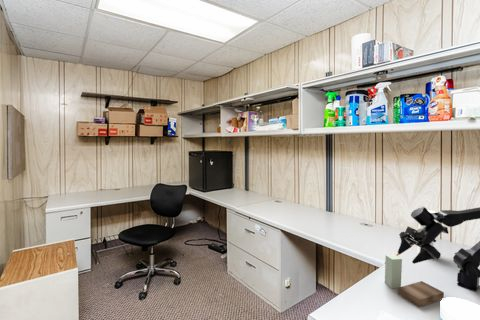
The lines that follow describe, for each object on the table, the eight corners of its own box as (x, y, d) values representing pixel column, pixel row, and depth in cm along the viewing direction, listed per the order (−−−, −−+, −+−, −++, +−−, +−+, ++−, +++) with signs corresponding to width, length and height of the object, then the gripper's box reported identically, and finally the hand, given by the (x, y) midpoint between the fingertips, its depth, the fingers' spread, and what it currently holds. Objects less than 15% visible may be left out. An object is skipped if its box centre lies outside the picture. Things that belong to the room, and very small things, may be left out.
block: (394, 281, 120) (395, 254, 119) (400, 287, 115) (402, 259, 114) (384, 282, 119) (385, 255, 118) (391, 288, 115) (392, 259, 114)
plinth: (421, 287, 115) (421, 281, 115) (443, 299, 106) (443, 292, 106) (398, 294, 110) (398, 287, 110) (419, 307, 102) (419, 299, 101)
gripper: (403, 215, 125) (380, 238, 125) (435, 228, 107) (409, 255, 107) (418, 230, 126) (395, 253, 126) (452, 246, 108) (426, 273, 108)
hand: (405, 257), depth 117 cm, fingers open, 9 cm apart
